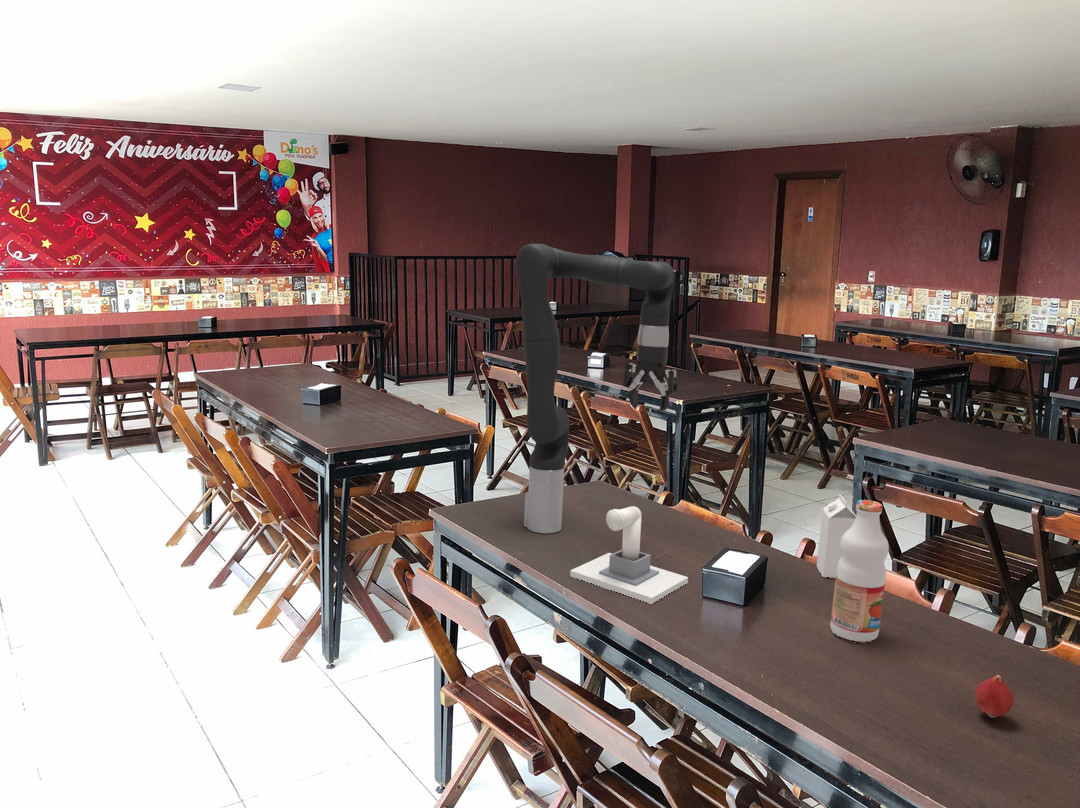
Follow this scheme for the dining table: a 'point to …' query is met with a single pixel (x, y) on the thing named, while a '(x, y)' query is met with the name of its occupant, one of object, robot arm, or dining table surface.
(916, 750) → the dining table surface
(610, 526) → the elbow
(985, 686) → the onion
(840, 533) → the milk carton
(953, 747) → the dining table surface
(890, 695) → the dining table surface
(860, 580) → the fruit juice
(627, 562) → the duct
